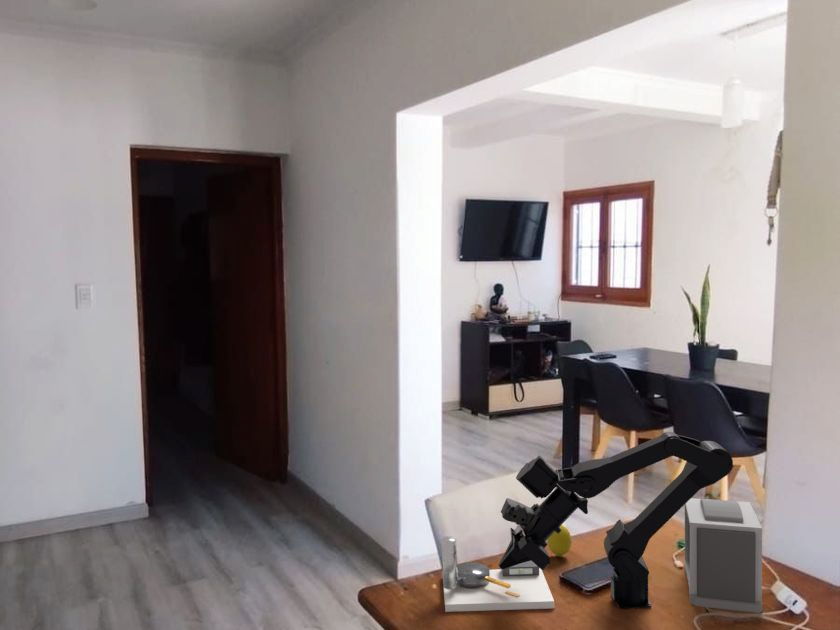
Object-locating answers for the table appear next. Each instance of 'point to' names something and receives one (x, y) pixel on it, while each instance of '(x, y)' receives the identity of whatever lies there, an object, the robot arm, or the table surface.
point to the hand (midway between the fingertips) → (500, 567)
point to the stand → (504, 591)
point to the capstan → (463, 569)
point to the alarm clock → (723, 555)
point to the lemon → (560, 541)
